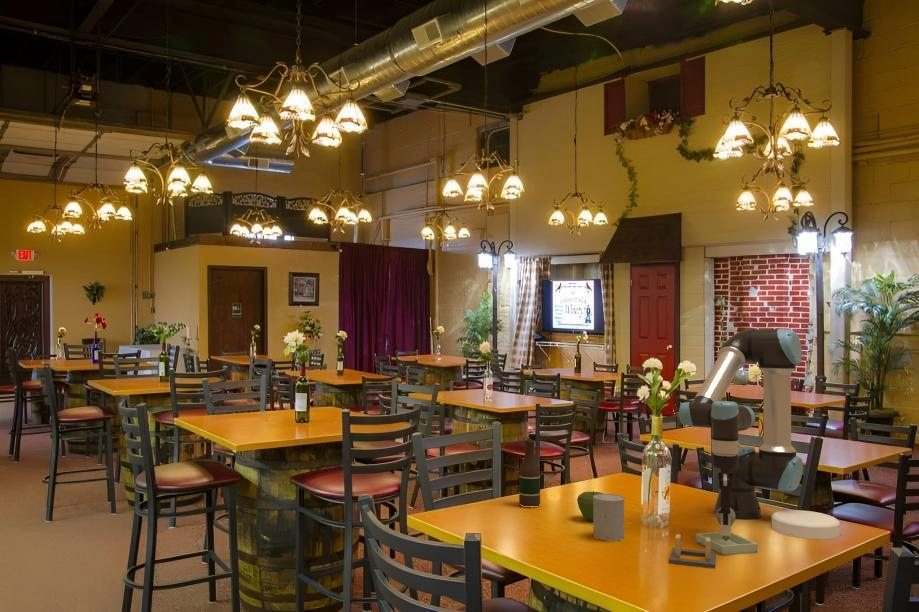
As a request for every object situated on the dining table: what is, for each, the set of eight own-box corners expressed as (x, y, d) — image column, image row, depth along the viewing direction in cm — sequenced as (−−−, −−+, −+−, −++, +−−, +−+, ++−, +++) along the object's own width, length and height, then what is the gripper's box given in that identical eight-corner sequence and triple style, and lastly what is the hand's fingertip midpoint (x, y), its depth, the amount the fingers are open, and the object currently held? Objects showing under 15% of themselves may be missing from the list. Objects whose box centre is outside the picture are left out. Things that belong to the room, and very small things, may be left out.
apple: (613, 518, 249) (613, 489, 250) (604, 525, 240) (604, 495, 240) (582, 514, 254) (582, 485, 255) (572, 521, 245) (572, 491, 245)
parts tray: (695, 542, 222) (695, 533, 222) (729, 539, 225) (729, 531, 225) (722, 555, 209) (722, 546, 209) (757, 552, 211) (757, 543, 212)
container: (844, 543, 222) (844, 527, 223) (773, 536, 229) (773, 521, 229) (835, 526, 241) (835, 512, 241) (770, 521, 248) (769, 507, 248)
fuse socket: (668, 563, 201) (668, 541, 202) (672, 551, 213) (672, 530, 213) (715, 568, 197) (714, 545, 197) (716, 555, 208) (715, 534, 209)
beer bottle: (517, 503, 270) (517, 438, 271) (537, 503, 271) (537, 438, 272) (521, 508, 263) (521, 441, 263) (542, 508, 263) (542, 441, 264)
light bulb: (737, 543, 213) (736, 509, 214) (717, 542, 215) (717, 508, 215) (734, 538, 219) (733, 504, 219) (714, 537, 220) (714, 503, 220)
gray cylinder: (601, 531, 233) (600, 492, 234) (629, 536, 228) (629, 496, 228) (587, 538, 226) (587, 497, 226) (617, 543, 220) (617, 502, 220)
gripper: (738, 459, 208) (739, 542, 207) (738, 450, 225) (739, 526, 224) (710, 458, 210) (711, 539, 209) (712, 448, 227) (713, 523, 227)
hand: (725, 532), depth 217 cm, fingers closed on light bulb, 5 cm apart
